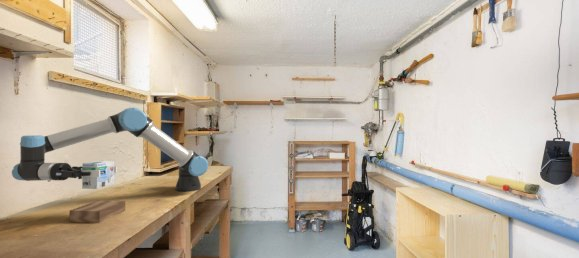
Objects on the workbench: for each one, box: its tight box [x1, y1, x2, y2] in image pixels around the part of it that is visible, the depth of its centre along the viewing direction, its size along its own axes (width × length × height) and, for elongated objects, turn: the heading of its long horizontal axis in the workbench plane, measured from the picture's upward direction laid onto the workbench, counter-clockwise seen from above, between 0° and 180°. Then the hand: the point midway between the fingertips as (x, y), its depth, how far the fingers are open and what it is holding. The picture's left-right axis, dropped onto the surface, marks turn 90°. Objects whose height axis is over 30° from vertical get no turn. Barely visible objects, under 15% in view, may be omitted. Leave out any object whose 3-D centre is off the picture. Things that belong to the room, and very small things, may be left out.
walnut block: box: [69, 200, 126, 224], centre depth 114 cm, size 13×15×5 cm
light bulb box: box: [81, 160, 115, 190], centre depth 114 cm, size 11×7×11 cm, turn 179°
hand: (108, 171), depth 114 cm, fingers closed on light bulb box, 11 cm apart
